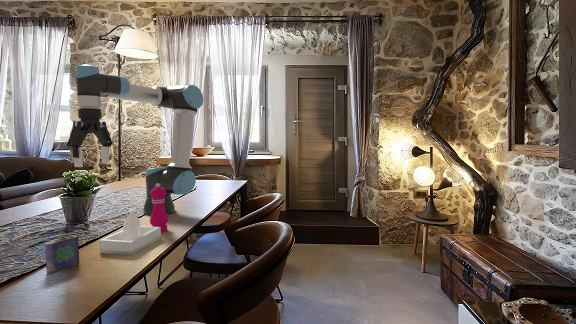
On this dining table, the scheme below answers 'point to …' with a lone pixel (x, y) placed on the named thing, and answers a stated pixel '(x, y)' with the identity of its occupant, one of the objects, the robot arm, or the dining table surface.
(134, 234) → the white pointed block
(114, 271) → the dining table surface
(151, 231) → the tray
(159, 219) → the pepper mill
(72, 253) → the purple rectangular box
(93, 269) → the dining table surface
